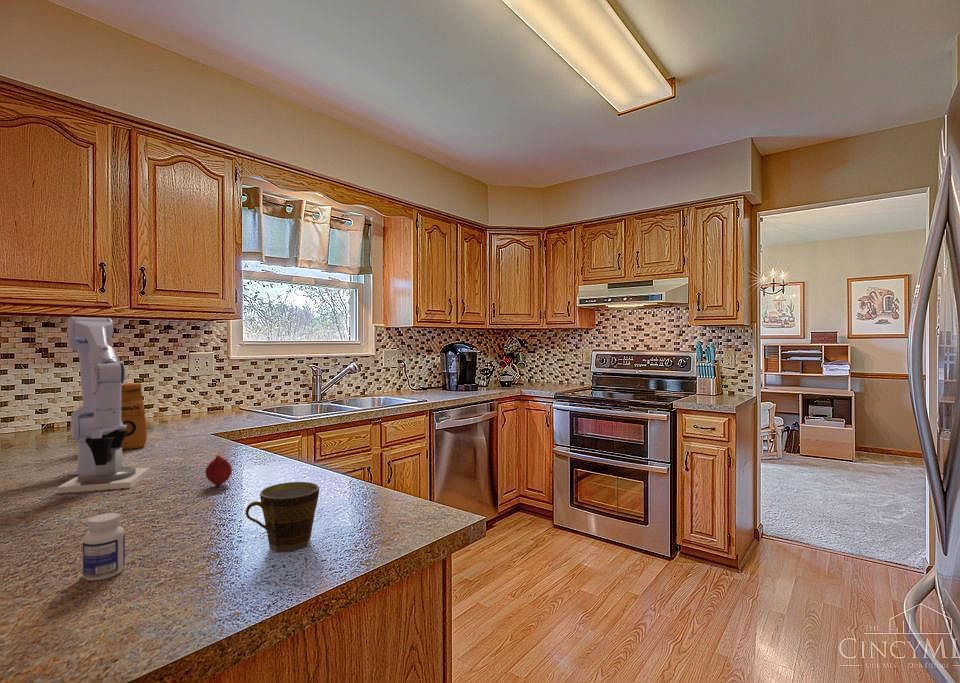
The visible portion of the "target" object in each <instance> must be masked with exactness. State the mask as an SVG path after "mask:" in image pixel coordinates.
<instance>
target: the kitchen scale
mask: <svg viewBox="0 0 960 683" xmlns="http://www.w3.org/2000/svg"><path fill="white" fill-rule="evenodd" d="M149 474H151V467H150V466H149V467H133V466H122V470H121V471H119V472H118V473H116V474H110V475H95V470H92V471H87V472H84V473H82V474H80V475H76V476H75V477H73V478H72V479H70V480H67V481H66V482H64V483H63V484H61V485H59V486H57V494H67V493H70V492H71V493H80V492H81V493H82V492H96V491H95V490H97V491H108V489H110V490H120V489H121V488H124V489H131V488H133V487H134V486H135V485H136V484H138V483H139V482H141V481H142V480H143V479H144V478H145V476H146V477H147V476H148V475H149ZM141 479H142V480H141ZM137 482H138V483H137ZM132 486H133V487H132Z"/></svg>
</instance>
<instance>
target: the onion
mask: <svg viewBox="0 0 960 683" xmlns="http://www.w3.org/2000/svg"><path fill="white" fill-rule="evenodd" d="M232 469H233V468H232V465H231V464H230V462H229V461H228V460H227V459H226V458H224V457H222V456H221V454H219V453H217V454H216V456H215V458H214V459H212V460H211V461H210V463H208V465H207V466H206V469H205V477H206V478H207V480H208V481H209V482H211V483H212V484H213V485H215V486H217V487H220V486H221V485H223V484H224V483H225V482H227V481H228V480H229V478H231V475H232V473H233V472H232V471H233V470H232Z"/></svg>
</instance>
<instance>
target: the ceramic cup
mask: <svg viewBox="0 0 960 683" xmlns="http://www.w3.org/2000/svg"><path fill="white" fill-rule="evenodd" d="M319 495H320V486H319V485H318V484H317V483H314V482H308V481H307V482H306V481H293V482H292V481H290V482H282V483H278V484H273V485H270V486H268V487H265V488H263V489H262V490H261V491H260V492H259V496H260V497H259V498H260V501H258V500H257V501H252V502H250V503H249V504H248V505H247V507H246V508H245V517H246V518H247V519H248V520H250V521H251V522H254V523H256V524H258V526H260V527H261V528H264V530H265V531H266V533H267V540H268V547H269V549H270V550H271V551H273V552H275V553H294V552H297V551H299V550H303V549H305V548H307V546H308V545H309V543H310V541H311V536H312V532H313V525H314V520H315V513H316V509H317V505H318V500H319ZM255 506H259V507H260V508H261V510H262V513H263V518H264V524H263V523H262V522H261V521H259V520H258V519H255V518H253V517H252V516H250V515H249V511H250V509H251V508H252V507H253V508H254V507H255Z"/></svg>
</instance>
